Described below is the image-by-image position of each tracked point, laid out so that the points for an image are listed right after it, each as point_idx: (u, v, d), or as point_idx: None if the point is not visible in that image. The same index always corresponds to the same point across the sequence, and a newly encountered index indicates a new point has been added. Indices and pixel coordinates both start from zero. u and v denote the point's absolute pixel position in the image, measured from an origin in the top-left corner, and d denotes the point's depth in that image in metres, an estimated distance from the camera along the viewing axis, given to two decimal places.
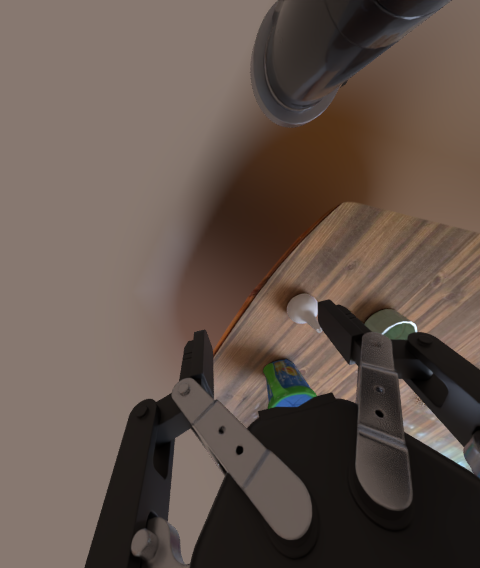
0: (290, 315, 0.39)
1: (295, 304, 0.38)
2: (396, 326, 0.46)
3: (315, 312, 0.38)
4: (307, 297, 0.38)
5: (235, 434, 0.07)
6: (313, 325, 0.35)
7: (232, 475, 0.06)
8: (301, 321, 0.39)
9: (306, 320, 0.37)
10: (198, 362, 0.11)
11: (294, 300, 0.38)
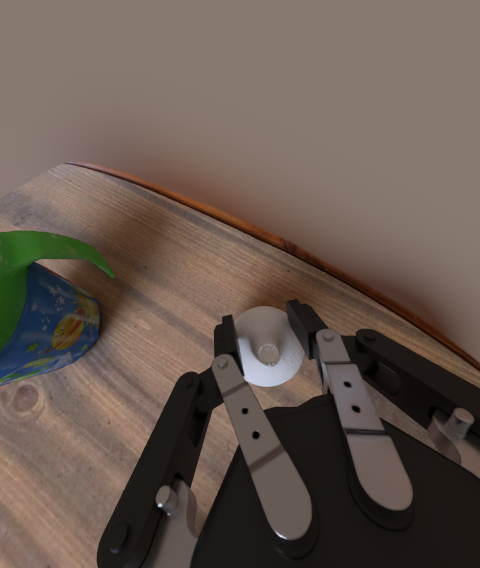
0: (255, 308, 0.16)
1: None
2: None
3: (275, 367, 0.14)
4: None
5: (255, 419, 0.07)
6: (272, 340, 0.11)
7: (243, 453, 0.06)
8: (246, 332, 0.15)
9: (264, 333, 0.13)
10: (231, 341, 0.12)
11: None
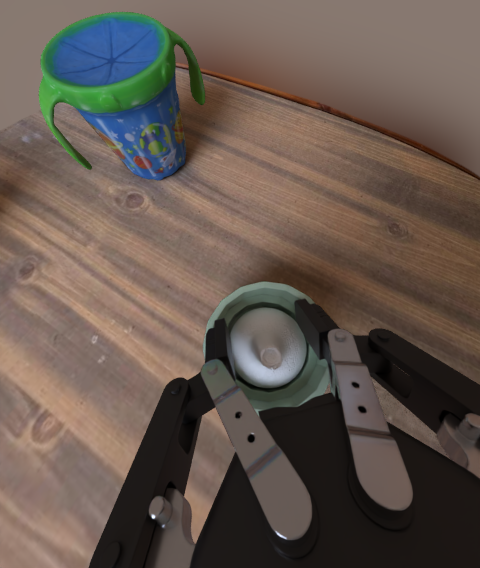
0: (256, 310, 0.16)
1: (289, 316, 0.16)
2: (265, 388, 0.16)
3: (276, 369, 0.14)
4: None
5: (249, 422, 0.07)
6: (274, 343, 0.11)
7: (240, 458, 0.06)
8: (247, 334, 0.15)
9: (266, 335, 0.13)
10: (222, 346, 0.11)
11: (291, 317, 0.17)
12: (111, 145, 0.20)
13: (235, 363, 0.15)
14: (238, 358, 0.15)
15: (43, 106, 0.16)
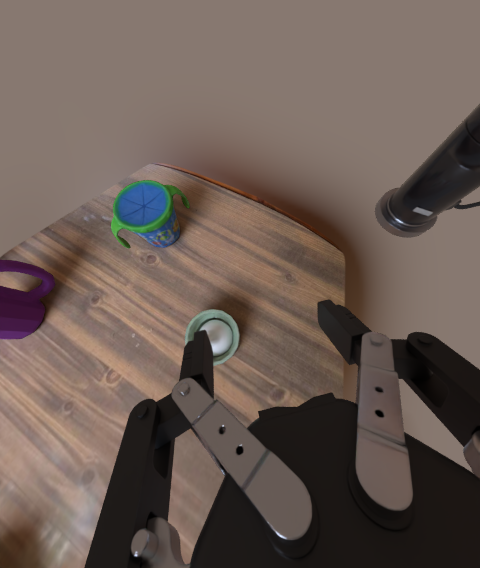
0: (210, 321, 0.36)
1: (224, 324, 0.35)
2: (215, 357, 0.36)
3: (215, 347, 0.33)
4: (231, 337, 0.35)
5: (235, 434, 0.07)
6: (209, 335, 0.31)
7: (232, 475, 0.06)
8: None
9: (210, 332, 0.33)
10: (198, 362, 0.11)
11: None
12: (141, 237, 0.39)
13: None
14: None
15: (113, 229, 0.35)
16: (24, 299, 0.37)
